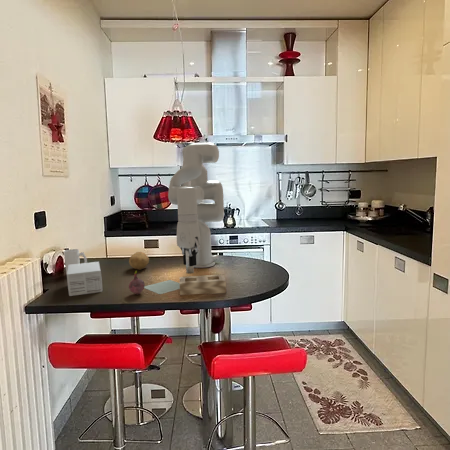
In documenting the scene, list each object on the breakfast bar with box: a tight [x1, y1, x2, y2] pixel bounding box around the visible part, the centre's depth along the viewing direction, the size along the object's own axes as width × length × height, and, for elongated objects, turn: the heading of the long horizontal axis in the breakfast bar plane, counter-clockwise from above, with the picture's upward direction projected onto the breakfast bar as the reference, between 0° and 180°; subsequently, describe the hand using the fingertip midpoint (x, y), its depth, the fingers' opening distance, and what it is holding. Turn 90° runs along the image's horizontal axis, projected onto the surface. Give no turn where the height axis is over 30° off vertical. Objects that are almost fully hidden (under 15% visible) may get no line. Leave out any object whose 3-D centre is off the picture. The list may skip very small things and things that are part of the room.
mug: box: [63, 248, 88, 275], centre depth 183 cm, size 10×7×12 cm, turn 98°
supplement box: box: [66, 261, 103, 297], centre depth 161 cm, size 17×13×9 cm
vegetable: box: [128, 270, 146, 295], centre depth 149 cm, size 6×6×10 cm
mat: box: [144, 279, 180, 295], centre depth 158 cm, size 14×14×1 cm
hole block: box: [179, 273, 227, 296], centre depth 152 cm, size 18×9×5 cm, turn 97°
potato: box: [128, 251, 150, 271], centre depth 190 cm, size 10×14×8 cm
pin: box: [185, 248, 195, 275], centre depth 150 cm, size 3×3×10 cm
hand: (189, 264), depth 150 cm, fingers closed on pin, 3 cm apart
